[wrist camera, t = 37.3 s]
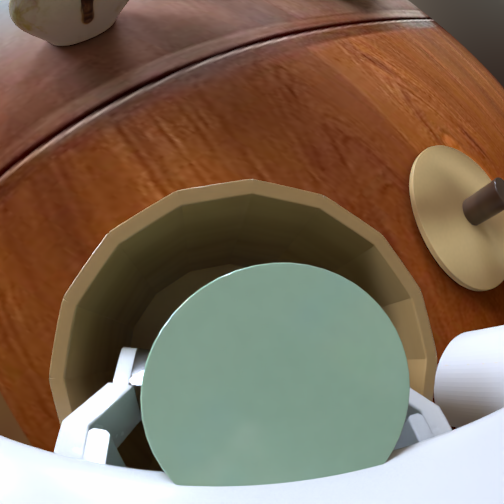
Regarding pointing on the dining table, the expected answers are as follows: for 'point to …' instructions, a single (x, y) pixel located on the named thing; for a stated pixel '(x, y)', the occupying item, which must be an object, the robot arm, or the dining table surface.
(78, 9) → the sugar bowl
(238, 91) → the dining table surface
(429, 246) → the basket lid
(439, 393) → the white cylinder
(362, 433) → the canister
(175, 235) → the basket
